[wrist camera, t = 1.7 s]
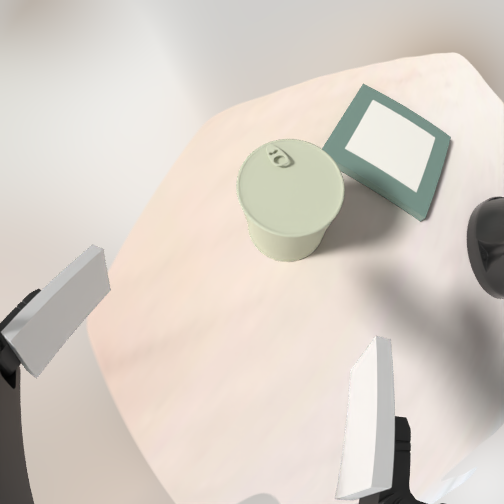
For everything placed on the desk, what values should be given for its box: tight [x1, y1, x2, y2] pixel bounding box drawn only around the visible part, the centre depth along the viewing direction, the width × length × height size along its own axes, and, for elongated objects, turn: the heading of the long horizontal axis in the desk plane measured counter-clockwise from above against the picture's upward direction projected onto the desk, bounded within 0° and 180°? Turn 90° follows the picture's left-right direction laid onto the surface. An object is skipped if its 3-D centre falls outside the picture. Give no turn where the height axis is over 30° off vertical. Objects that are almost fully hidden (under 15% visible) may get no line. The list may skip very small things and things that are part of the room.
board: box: [322, 84, 451, 221], centre depth 35 cm, size 16×16×2 cm
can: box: [236, 139, 345, 262], centre depth 29 cm, size 9×9×12 cm
